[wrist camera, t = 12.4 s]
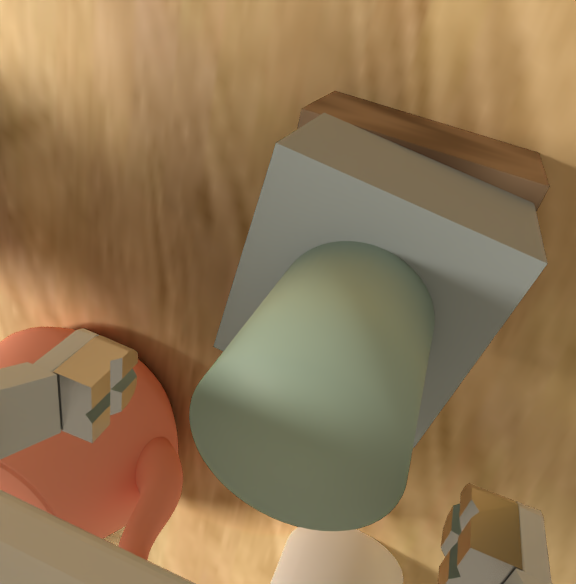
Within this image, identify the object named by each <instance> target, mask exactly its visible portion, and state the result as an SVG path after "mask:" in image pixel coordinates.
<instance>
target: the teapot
mask: <svg viewBox="0 0 576 584" xmlns="http://www.w3.org/2000/svg"><path fill="white" fill-rule="evenodd" d="M74 331H76V330H74V329H68V328H59V327H36V328H29V329H26V330H22V331H19V332H15V333H13V334H12V335H10V336H8V337H6V338H5V339H4V340H2V341H1V342H0V369H1V368H5V367H9V366H13V365H17V364H21V363H25V362H29V363H31V364H33V363H35V362H36V361H37V360H38V359H40V358H41V357H42V356H44V355H45V354H46V353H47V352H49V351H50V350H51V349H53V348H54V347H55V346H56V345H58V344H59V343H60V342H62V341H63V340H64V339H65V338H67V337H68V336H69V335H71V334H72V333H73V332H74ZM133 370H134V372H135V373H136V375H137V385H136V388H135V392H134V394H133V396H132V398H131V400H130V402H129V403H128V405H127V406H126V407H125V408H124V409H123V410H122V411H121V412H119V413H116V414H113V415H110V425H109V426H108V427H107V428H106V429H105V430H104V431H103V432H102V433H101V435H100V436H99V437H98V438H97V439H96V440H95V441H94V442H93V443H91V442H88V441H86V440H83V439H81V438H78V437H76V436H73V435H71V434H69V433H66V432H64V431H61V433H59V434H57V435H54V436H52V437H50V438H48V439H45V440H43V441H41V442H39V443H36V444H34V445H32V446H30V447H27V448H25V449H23V450H21V451H18V452H16V453H14V454H12V455H9V456H7V457H5V458H3V459H1V460H0V490H2V491H4V492H6V493H8V494H11V495H13V496H15V497H17V498H19V499H21V500H23V501H25V502H27V503H29V504H31V505H33V506H35V507H38V508H40V509H42V510H44V511H46V512H48V513H50V514H52V515H54V516H56V517H58V518H60V519H62V520H65V521H67V522H69V523H71V524H73V525H75V526H77V527H79V528H81V529H83V530H85V531H87V532H89V533H92V534H94V535H96V536H98V537H100V538H102V539H103V538H105V537H107V536H108V535H110V534H112V533H114V532H116V531H118V530H119V529H121V528H123V527H124V526H126V527H125V529H124V532H123V534H122V537H121V539H120V542H119V546H118V547H121V548H123V549H125V550H127V551H129V552H131V553H133V554H135V555H137V556H139V557H141V558H143V559H145V560H147V559H148V555H149V552H150V549H151V547H152V545H153V543H154V541H155V539H156V538H157V536H158V535H159V533H160V532H161V530H162V529H163V527H164V526H165V524H166V523H167V521H168V520H169V518H170V517H171V515H172V513H173V512H174V510H175V508H176V506H177V504H178V501H179V499H180V496H181V491H182V485H183V472H182V466H181V461H180V459H179V456H178V437H177V429H176V424H175V419H174V415H173V411H172V408H171V405H170V402H169V399H168V397H167V395H166V393H165V390H164V389H163V387H162V386H161V384H160V382H159V381H158V380H157V378H156V377H155V376H154V374H153V373H152V372H151V371H150V370H149V369H148V368H147V366H146V365H145V364H143V363H142V362H141V361H140V360H139V359H138V363H137V364H136V365H135V366H134V367H133Z"/></svg>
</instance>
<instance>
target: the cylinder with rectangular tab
mask: <svg viewBox="0 0 576 584" xmlns="http://www.w3.org/2000/svg"><path fill="white" fill-rule="evenodd" d="M403 582H404V580H403V574H402V569H401V567H400V566H399V564H398V562H397V560H396V558H395V557H394V556H393V555H392V554H391V553H390V552H389V551H388V549H387V548H386V547H384V546H383V545H382V544H380V543H379V542H378V541H376V540H375V539H374V538H372V537H371V536H369V535H367V534H365V533H363V532H361V531H359V530H357V529H353V530H347V531H319V530H311V529H306V528H302V527H298V528H296V529H295V530H294V531H292V532H291V534H290V536H289V538H288V539H287V542H286V544H285V547H284V549H283V552H282V555H281V557H280V560H279V562H278V565H277V568H276V570H275V573H274V575H273V578H272V581H271V583H270V584H403Z"/></svg>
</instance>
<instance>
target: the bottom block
mask: <svg viewBox="0 0 576 584" xmlns="http://www.w3.org/2000/svg"><path fill="white" fill-rule="evenodd" d="M323 113H326V114H329V115H331V116H333V117H336V118H338V119H340V120H343V121H345V122H347V123H350V124H352V125H354V126H356V127H359V128H361V129H363V130H366V131H368V132H370V133H373V134H375V135H377V136H380V137H382V138H384V139H387V140H389V141H391V142H393V143H396V144H398V145H400V146H403V147H405V148H407V149H410V150H412V151H414V152H417V153H419V154H421V155H424V156H426V157H428V158H430V159H433V160H435V161H437V162H440V163H442V164H444V165H447V166H449V167H451V168H454V169H456V170H458V171H461V172H463V173H465V174H467V175H470V176H472V177H474V178H477V179H479V180H481V181H484V182H486V183H488V184H491V185H493V186H495V187H498V188H500V189H502V190H504V191H507V192H509V193H511V194H514V195H516V196H518V197H521V198H523V199H525V200H528V201H530V202H532V203H534V205H535V209H536V211H537V209H538V207H539V206H540V204H541V202H542V200H543V198H544V196H545V194H546V192H547V190H548V188H549V187H550V186H549V183H548V180H547V177H546V174H545V171H544V167H543V164H542V161H541V158H540V155H539V153H538V152H534V151H531V150H528V149H525V148H521V147H518V146H515V145H511V144H508V143H505V142H502V141H498V140H495V139H492V138H488V137H485V136H482V135H479V134H475V133H472V132H469V131H465V130H462V129H459V128H456V127H452V126H449V125H446V124H442V123H439V122H436V121H432V120H429V119H426V118H423V117H419V116H416V115H413V114H409V113H406V112H403V111H400V110H396V109H393V108H390V107H386V106H383V105H380V104H377V103H373V102H370V101H367V100H363V99H360V98H357V97H354V96H350V95H347V94H344V93H340V92H337V91H334V92H332V93H330V94H328V95H326V96H324V97H323V98H321V99H319V100H317V101H315V102H313V103H311V104H309V105H308V106H306V107H304V108H302V110H301V114H300V119H299V123H298V128H297V129H299V128H300V127H302V126H304V125H305V124H307V123H308V122H310V121H311V120H313V119H315V118H316V117H318V116H319V115H321V114H323Z"/></svg>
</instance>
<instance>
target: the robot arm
mask: <svg viewBox="0 0 576 584" xmlns="http://www.w3.org/2000/svg"><path fill="white" fill-rule="evenodd" d="M137 363H138V352H137V351H135V350H134V349H132V348H129V347H127V346H125V345H122V344H120V343H118V342H115V341H113V340H111V339H108V338H106V337H104V336H101V335H98V334H96V333H93V332H91V331H89V330H86V329H84V328H82V329H78V330H76V331H74V332H73V333H72V334H71V335H69V336H68V337H67V338H65V339H64V340H63V341H62V342H60V343H59V344H58V345H56V346H55V347H54V348H53V349H51V350H50V351H49V352H47V353H46V354H45V355H44V356H42V357H41V358H40V359H38V360H37V361H36V362H35V363H33V364H31V363H29V362H25V363H21V364H17V365H13V366H9V367H5V368H1V369H0V460H1V459H3V458H5V457H7V456H9V455H12V454H14V453H16V452H18V451H21V450H23V449H25V448H27V447H30V446H32V445H34V444H36V443H39V442H41V441H43V440H45V439H48V438H50V437H52V436H54V435H57V434H59V433H61V431H64V432H66V433H69V434H71V435H73V436H76V437H78V438H81V439H83V440H86V441H88V442H91V443H93V442H94V441H95V440H96V439H97V438H98V437H99V436H100V435H101V433H102V432H103V431H104V430H105V429H106V428H107V427H108V426H109V425H110V415H113V414H116V413H119V412H121V411H122V410H123V409H124V408H125V407H126V406H127V405H128V403H129V402H130V400H131V398H132V396H133V394H134V392H135V388H136V385H137V375H136V373H135V372H134V370H133V367H134V366H135V365H136V364H137ZM441 549H442V551H443V553H444V555H445V558H444V560H443V562H442V563H441V565H440V566H439V575H438V584H552V583H551V575H550V567H549V559H548V550H547V542H546V534H545V526H544V518H543V514H542V513H541V511H540V510H537V509H535V508H532V507H530V506H527V505H524V504H522V503H519V502H517V501H516V502H515V501H514V500H512V499H509V498H506V497H504V496H501V495H499V494H496V493H494V492H491V491H488V490H486V489H483V488H481V487H478V486H476V485H473V484H470V483H469V484H467V485H466V486H465V487H464V489H463V491H462V492H461V497H460V504H457V505H454V506H453V507H452V509H451V511H450V512H449V514H448V516H447V519H446V522H445V525H444V528H443V533H442V540H441ZM0 584H195V583H193V582H191V581H189V580H187V579H185V578H183V577H181V576H179V575H177V574H174V573H172V572H170V571H168V570H166V569H164V568H162V567H160V566H158V565H156V564H154V563H152V562H150V561H148V560H145V559H143V558H141V557H139V556H137V555H135V554H133V553H131V552H129V551H127V550H125V549H123V548H121V547H118V546H116V545H114V544H112V543H110V542H108V541H106V540H104V539H102V538H100V537H98V536H96V535H94V534H92V533H89V532H87V531H85V530H83V529H81V528H79V527H77V526H75V525H73V524H71V523H69V522H67V521H65V520H62V519H60V518H58V517H56V516H54V515H52V514H50V513H48V512H46V511H44V510H42V509H40V508H38V507H35V506H33V505H31V504H29V503H27V502H25V501H23V500H21V499H19V498H17V497H15V496H13V495H11V494H8V493H6V492H4V491H2V490H0Z"/></svg>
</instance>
